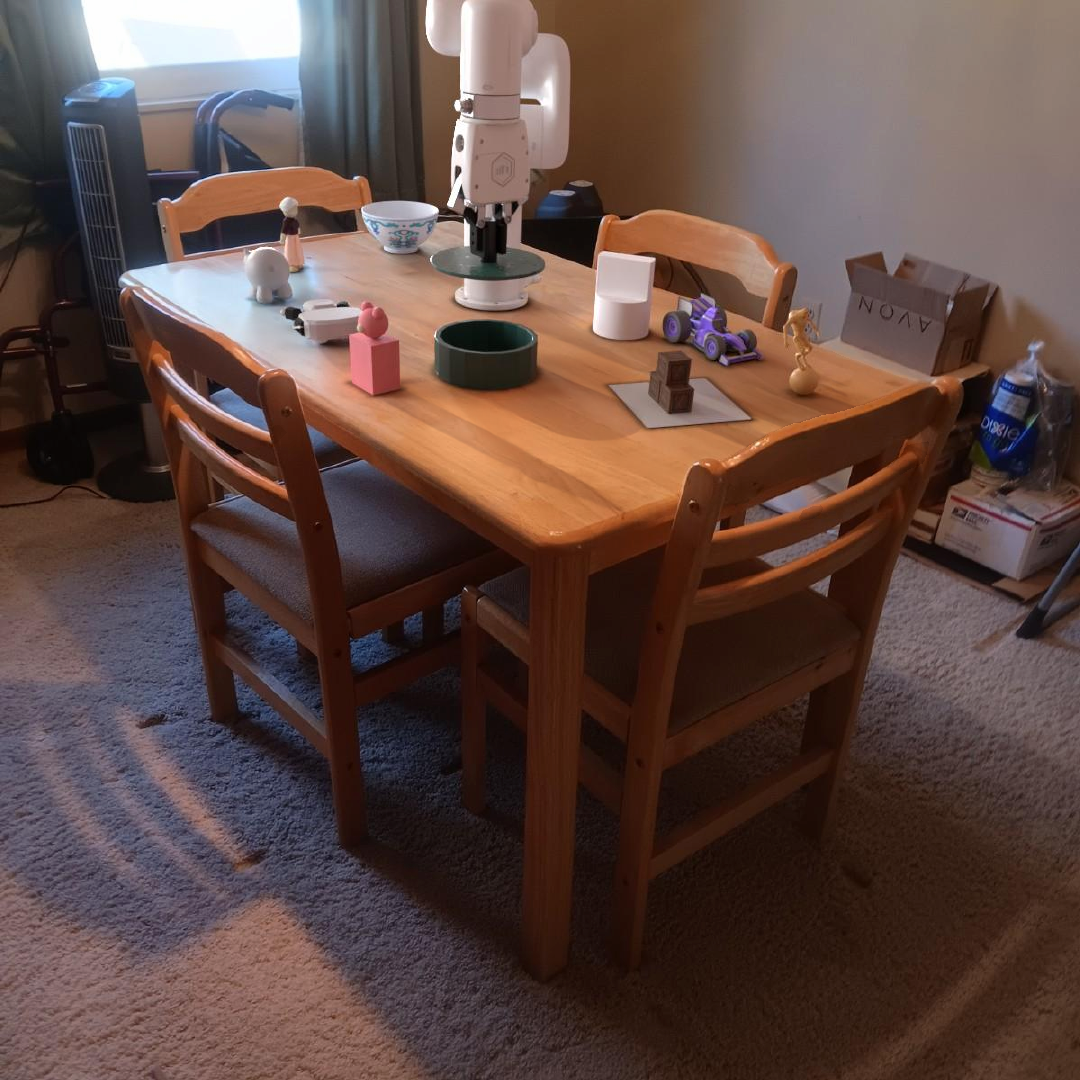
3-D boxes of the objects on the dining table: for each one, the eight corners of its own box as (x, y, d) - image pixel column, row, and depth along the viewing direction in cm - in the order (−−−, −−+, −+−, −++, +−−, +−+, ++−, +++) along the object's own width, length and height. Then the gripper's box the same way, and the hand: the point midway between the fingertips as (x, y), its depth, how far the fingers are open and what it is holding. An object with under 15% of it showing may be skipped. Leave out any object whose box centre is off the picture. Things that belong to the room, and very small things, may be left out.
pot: (494, 346, 155) (495, 312, 152) (557, 376, 145) (559, 341, 142) (415, 365, 146) (414, 330, 144) (476, 398, 137) (476, 361, 134)
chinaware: (352, 255, 195) (350, 214, 191) (376, 236, 208) (374, 198, 204) (428, 262, 193) (427, 221, 189) (447, 243, 206) (446, 204, 202)
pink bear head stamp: (378, 376, 142) (375, 296, 136) (400, 388, 139) (398, 307, 133) (350, 383, 140) (345, 302, 134) (371, 396, 136) (368, 313, 130)
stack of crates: (751, 419, 135) (759, 371, 131) (647, 428, 131) (652, 378, 127) (704, 378, 147) (710, 333, 143) (608, 385, 143) (612, 339, 139)
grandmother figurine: (300, 274, 183) (295, 202, 177) (279, 273, 183) (273, 201, 177) (309, 262, 190) (304, 193, 183) (289, 261, 190) (283, 192, 183)
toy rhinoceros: (272, 283, 178) (267, 234, 173) (298, 301, 169) (294, 250, 165) (232, 288, 174) (226, 238, 170) (257, 307, 166) (252, 255, 161)
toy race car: (719, 368, 151) (725, 326, 147) (660, 337, 162) (664, 297, 158) (768, 359, 155) (774, 318, 152) (706, 329, 166) (711, 290, 163)
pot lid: (497, 248, 147) (498, 201, 144) (568, 273, 137) (571, 224, 134) (408, 263, 138) (407, 214, 135) (476, 291, 128) (477, 239, 125)
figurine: (796, 405, 140) (811, 321, 134) (760, 392, 143) (774, 309, 137) (829, 391, 145) (845, 309, 139) (794, 378, 148) (808, 298, 142)
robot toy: (277, 328, 160) (302, 353, 148) (274, 300, 158) (299, 322, 146) (351, 320, 165) (382, 343, 153) (349, 292, 163) (380, 313, 151)
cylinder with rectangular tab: (585, 334, 161) (590, 259, 155) (602, 318, 168) (607, 246, 162) (640, 343, 159) (647, 267, 153) (654, 326, 166) (661, 253, 160)
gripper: (456, 115, 120) (456, 269, 130) (557, 108, 130) (551, 252, 139) (420, 107, 125) (423, 255, 135) (521, 100, 134) (517, 240, 144)
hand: (488, 252), depth 137 cm, fingers closed on pot lid, 2 cm apart
